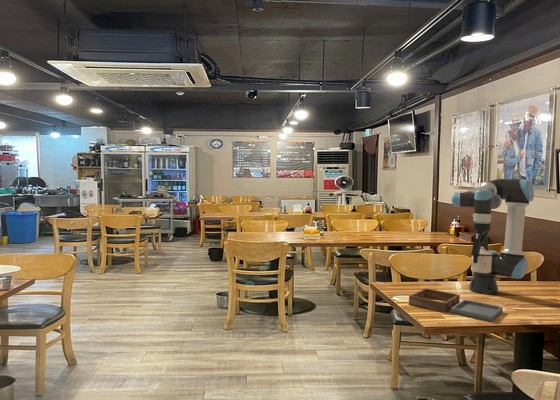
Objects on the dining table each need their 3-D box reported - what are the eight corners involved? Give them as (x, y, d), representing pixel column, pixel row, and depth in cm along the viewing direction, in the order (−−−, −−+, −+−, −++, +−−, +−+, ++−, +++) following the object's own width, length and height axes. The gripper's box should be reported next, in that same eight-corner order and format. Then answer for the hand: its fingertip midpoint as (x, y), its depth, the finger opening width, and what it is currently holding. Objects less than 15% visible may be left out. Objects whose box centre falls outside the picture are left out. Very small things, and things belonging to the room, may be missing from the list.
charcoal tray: (463, 304, 218) (464, 299, 218) (502, 312, 207) (502, 307, 206) (450, 313, 203) (450, 307, 203) (491, 322, 191) (491, 316, 191)
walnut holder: (424, 296, 231) (425, 288, 230) (459, 303, 219) (459, 294, 219) (408, 304, 215) (409, 295, 214) (445, 312, 203) (445, 303, 203)
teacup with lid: (477, 268, 211) (479, 245, 210) (495, 272, 203) (496, 248, 202) (462, 270, 204) (464, 246, 204) (480, 274, 197) (481, 249, 196)
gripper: (480, 220, 214) (478, 263, 215) (465, 223, 196) (463, 270, 197) (496, 221, 209) (494, 265, 210) (483, 224, 191) (480, 273, 192)
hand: (479, 268), depth 204 cm, fingers closed on teacup with lid, 11 cm apart
